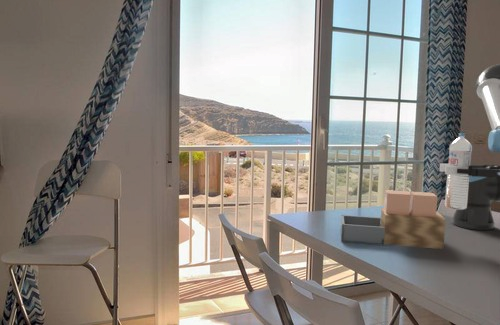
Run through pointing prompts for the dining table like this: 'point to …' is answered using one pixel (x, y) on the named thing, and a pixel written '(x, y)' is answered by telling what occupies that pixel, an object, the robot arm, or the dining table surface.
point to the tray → (362, 230)
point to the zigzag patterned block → (413, 230)
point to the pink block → (397, 202)
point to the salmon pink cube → (423, 204)
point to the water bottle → (458, 183)
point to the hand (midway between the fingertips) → (442, 168)
